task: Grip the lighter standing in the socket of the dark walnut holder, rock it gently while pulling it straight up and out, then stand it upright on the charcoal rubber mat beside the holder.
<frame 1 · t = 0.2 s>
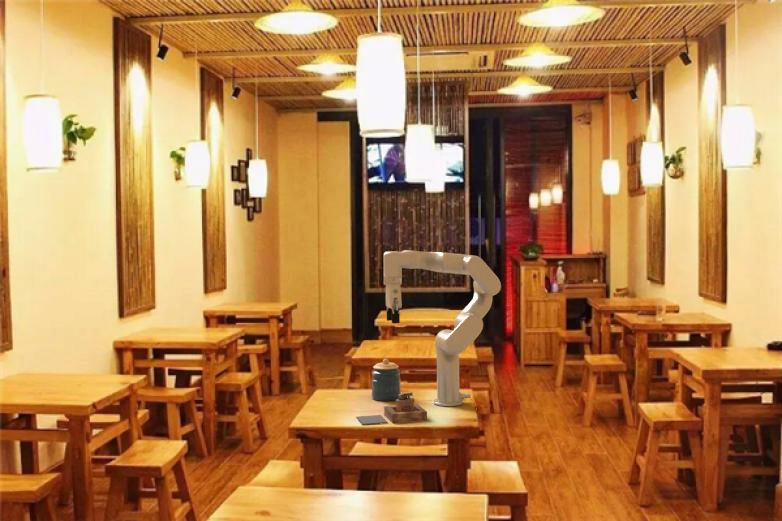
hand: (393, 321, 348), 36 cm above the table, tool pointing down, fingers open, 9 cm apart
canister: (386, 398, 368), on the table
charcoal mat: (371, 420, 328), on the table
walnut holder: (405, 417, 332), on the table
lighter: (405, 418, 332), resting in walnut holder
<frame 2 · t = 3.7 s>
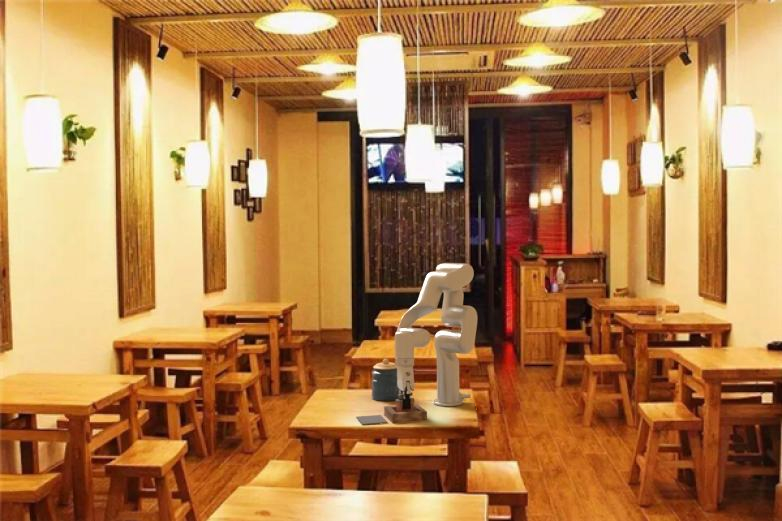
hand: (405, 406, 332), 4 cm above the table, tool pointing down, fingers closed on lighter, 3 cm apart
lighter: (405, 418, 332), resting in walnut holder, touching gripper
everything else where it was.
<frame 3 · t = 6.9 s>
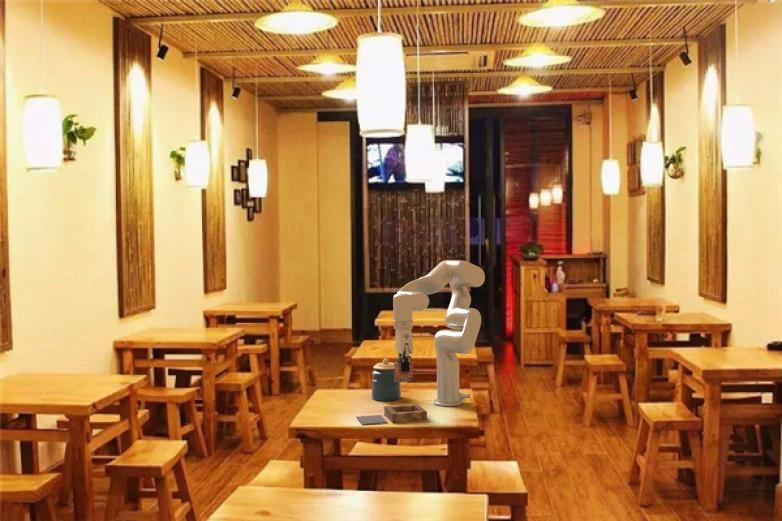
hand: (403, 370, 331), 19 cm above the table, tool pointing down, fingers closed on lighter, 3 cm apart
lighter: (403, 381, 331), point 15 cm above the table, touching gripper
everything else where it was.
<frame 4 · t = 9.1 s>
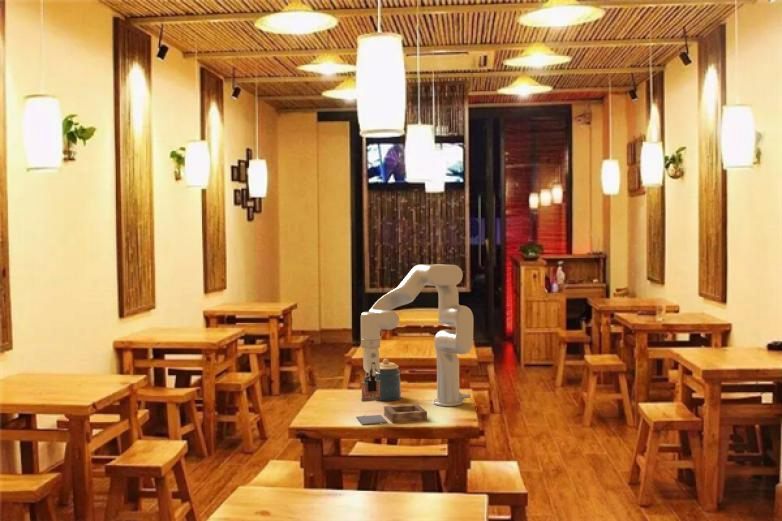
hand: (370, 389, 327), 12 cm above the table, tool pointing down, fingers closed on lighter, 3 cm apart
lighter: (371, 400, 327), point 8 cm above the table, touching gripper
everything else where it was.
when the fingers open (6 cm above the table, at t = 10.6 s): lighter stays where it is, resting on charcoal mat.
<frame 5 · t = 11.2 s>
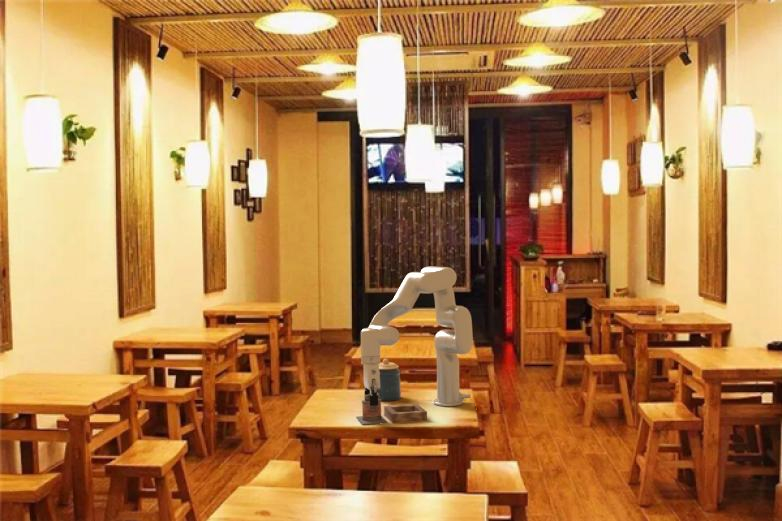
hand: (371, 402, 327), 7 cm above the table, tool pointing down, fingers open, 9 cm apart
lighter: (372, 419, 328), resting on charcoal mat
everything else where it was.
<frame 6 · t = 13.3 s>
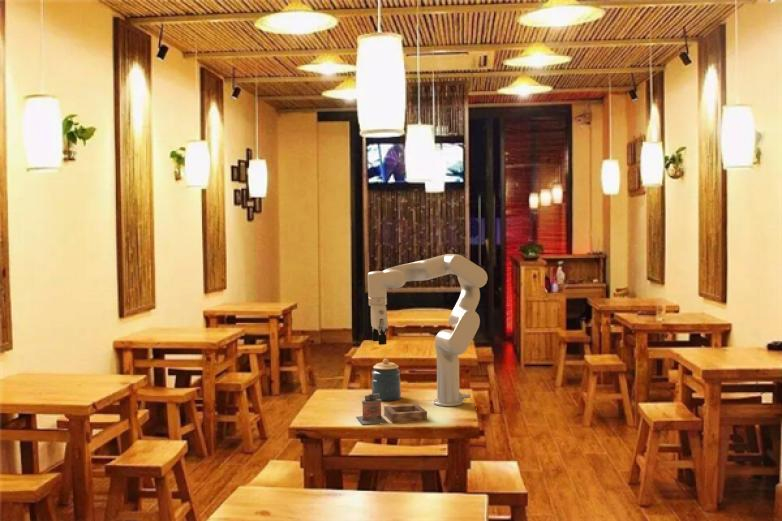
hand: (379, 342, 342), 28 cm above the table, tool pointing down, fingers open, 9 cm apart
nothing on the table moved.
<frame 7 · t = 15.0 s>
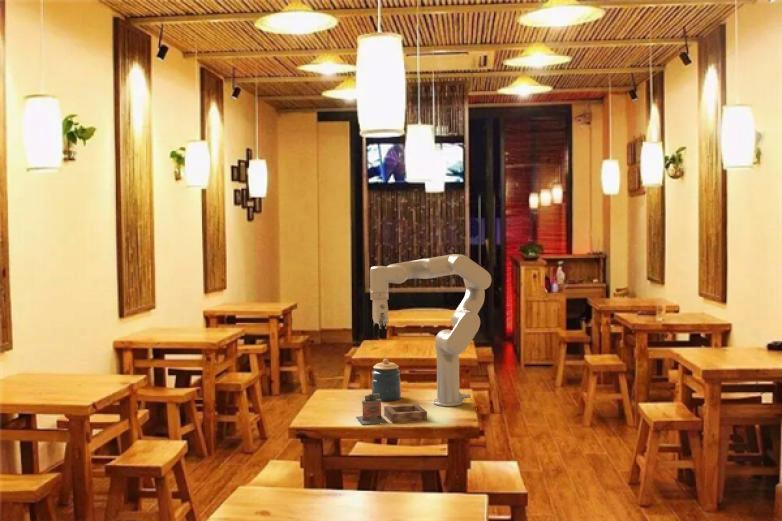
hand: (380, 337, 345), 30 cm above the table, tool pointing down, fingers open, 9 cm apart
nothing on the table moved.
at the end: lighter 0.2 cm off-centre on the charcoal mat, point 0.4 cm above the charcoal mat's base; lighter tilted 0°; the gripper is holding nothing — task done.
